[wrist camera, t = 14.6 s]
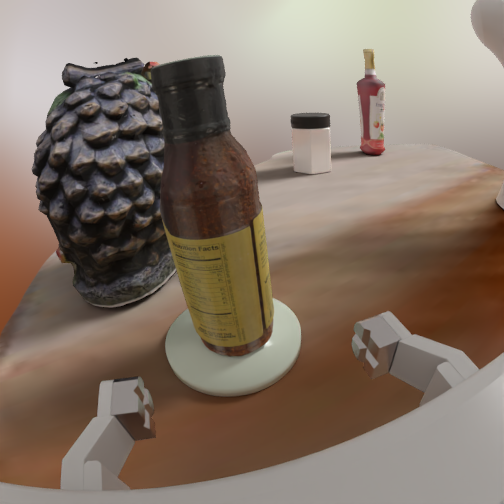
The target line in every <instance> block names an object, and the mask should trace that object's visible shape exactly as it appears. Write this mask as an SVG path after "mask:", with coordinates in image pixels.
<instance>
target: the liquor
mask: <svg viewBox="0 0 504 504" xmlns="http://www.w3.org/2000/svg"><path fill="white" fill-rule="evenodd" d="M363 51H364V58H365V78H363V79H361V80H359V81H358V82H357V89H358V101H359V110H360V122H361V146H360V149H361V150H362V151H363V152H364V153H365V154H368V155H380V154H381V153H382V152H383V151H384V150H385V148H384V115H385V84H384V83H383V82H382V81H380V80H379V79H377V78H376V72H375V66H374V50H372V49H364V50H363Z"/></svg>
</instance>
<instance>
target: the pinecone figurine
mask: <svg viewBox="0 0 504 504" xmlns="http://www.w3.org/2000/svg"><path fill="white" fill-rule="evenodd" d="M124 61H125V62H121V63H118V64H116V65H107V66H101V67H97V68H85V67H82V66H78V65H74V64H71V63H68V64H66V66H65V68H64V71H63V72H62V80H63V82H64V85H66V86H68V87H71V88H69V89H67V90H65V91H63V92H62V93H61V94H59V95H58V96H57V97H56V98H55V100H54V102H53V104H52V106H51V108H50V110H49V112H48V115H47V120H46V130H45V131H44V132H43V133H42V134H41V135H40V136H39V137H38V140H37V142H36V145H37V147H38V148H37V150H36V151H35V153H34V160H35V161H34V164H33V167H32V172H33V174H34V175H36V176H38V178H37V182H36V188H37V190H36V194H37V198H38V199H39V200H40V205H39V211H40V212H42V213H44V214H45V215H47V217H48V219H49V221H50V223H51V225H52V227H53V229H54V232H55V234H56V236H57V239H58V241H59V247H58V249H57V251H56V254H57V256H58V257H59V259H60V260H61V262H62V263H71V264H72V265H73V267H74V274H75V275H74V279H73V286H74V287H75V288H76V289H77V291H78V292H79V293H80V294H81V295H82V296H83V298H84V300H86V301H87V302H88V303H91V304H92V305H94V306H100V307H109V308H112V307H119V306H123V305H125V304H127V303H131V302H134V301H137V300H139V299H142V298H143V297H145V296H147V295H149V294H152V293H153V292H155V291H156V290H157V289H158V288H159V287H160V288H161V286H162V285H163V284H164V283H166V282H167V280H168V279H169V278H170V277H171V276H172V275H173V274H174V273H175V272H176V267H175V263H174V260H173V257H172V253H171V250H170V246H169V243H168V239H167V236H166V232H165V229H164V225H163V221H162V217H161V214H160V189H161V177H162V172H163V167H164V138H163V134H162V132H163V124H162V119H161V114H160V107H159V102H158V98H157V95H156V94H155V92H154V91H153V89H152V83H151V73H150V72H151V69H152V68H153V67H155V66H158V65H160V64H158V63H157V62H148V63H147V64H146V65H145V67H144V64H143V63H142V62H141V61H140V60H139V59H138V58H132V59H129V60H128V59H127V58H125V59H124ZM95 63H96V64H97V62H95ZM99 75H100V76H99ZM96 76H98V78H95V77H96Z"/></svg>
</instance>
